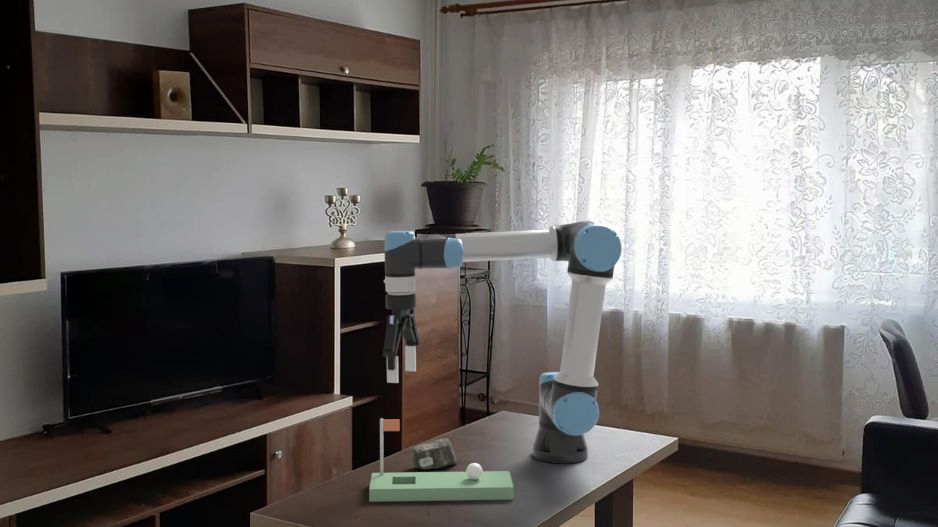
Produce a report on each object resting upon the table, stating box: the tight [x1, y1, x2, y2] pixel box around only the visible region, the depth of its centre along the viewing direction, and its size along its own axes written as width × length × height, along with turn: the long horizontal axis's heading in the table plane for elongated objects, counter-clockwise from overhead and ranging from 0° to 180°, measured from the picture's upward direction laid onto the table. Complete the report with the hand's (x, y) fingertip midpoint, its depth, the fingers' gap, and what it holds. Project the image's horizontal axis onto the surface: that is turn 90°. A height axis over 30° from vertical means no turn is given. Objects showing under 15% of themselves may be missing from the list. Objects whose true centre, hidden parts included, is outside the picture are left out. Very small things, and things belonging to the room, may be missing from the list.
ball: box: [465, 462, 484, 480], centre depth 225 cm, size 4×4×4 cm
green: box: [368, 418, 515, 503], centre depth 224 cm, size 34×12×17 cm, turn 93°
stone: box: [410, 437, 457, 471], centre depth 245 cm, size 14×7×10 cm, turn 130°
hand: (402, 376), depth 234 cm, fingers open, 13 cm apart
